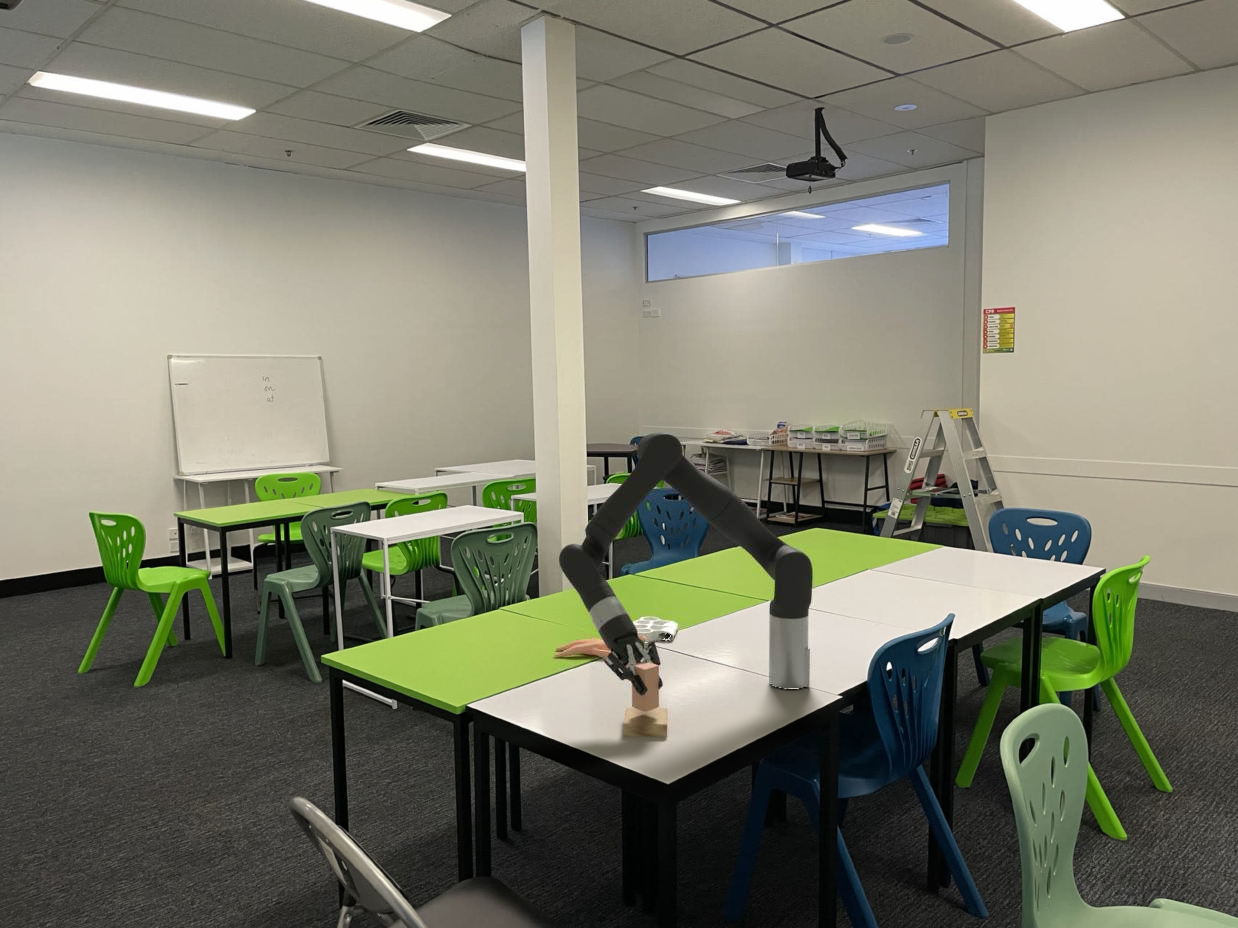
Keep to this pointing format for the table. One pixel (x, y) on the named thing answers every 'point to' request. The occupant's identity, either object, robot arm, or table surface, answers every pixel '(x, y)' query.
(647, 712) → the base slab
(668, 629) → the white dimpled tray
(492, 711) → the table surface
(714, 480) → the robot arm
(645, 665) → the block
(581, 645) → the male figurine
